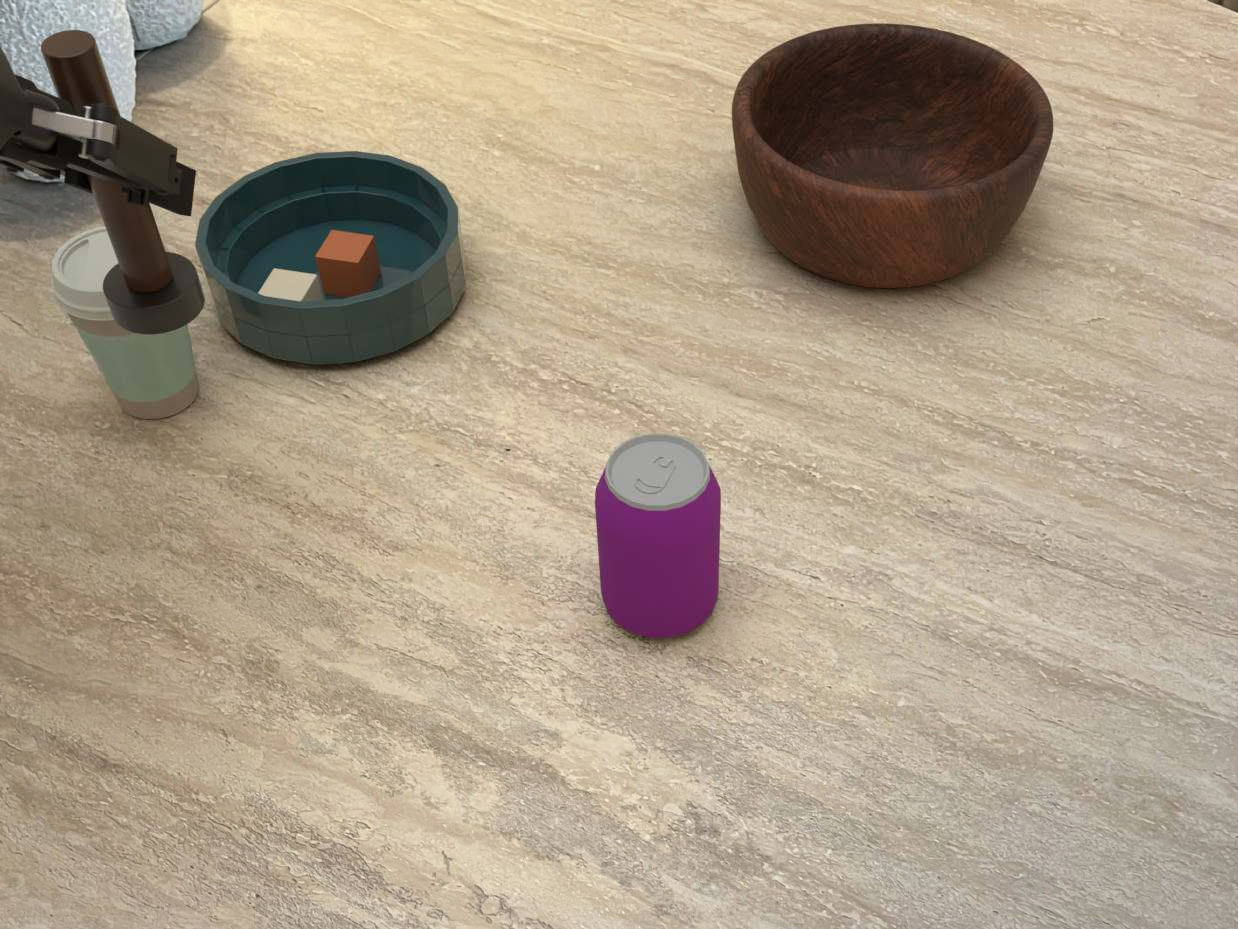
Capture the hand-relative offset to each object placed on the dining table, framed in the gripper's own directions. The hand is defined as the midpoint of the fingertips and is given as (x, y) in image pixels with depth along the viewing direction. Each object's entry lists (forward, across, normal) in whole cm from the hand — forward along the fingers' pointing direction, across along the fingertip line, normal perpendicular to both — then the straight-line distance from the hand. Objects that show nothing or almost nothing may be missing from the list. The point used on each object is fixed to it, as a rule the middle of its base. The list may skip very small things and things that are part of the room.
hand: (160, 188), depth 88 cm
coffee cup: (+18, -8, -12) cm, 23 cm away
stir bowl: (+28, 0, -2) cm, 28 cm away
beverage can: (+10, +33, -20) cm, 40 cm away
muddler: (+1, 0, -7) cm, 7 cm away
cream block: (+23, -1, -5) cm, 24 cm away
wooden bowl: (+41, +40, +12) cm, 59 cm away
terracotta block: (+27, +2, -1) cm, 27 cm away
